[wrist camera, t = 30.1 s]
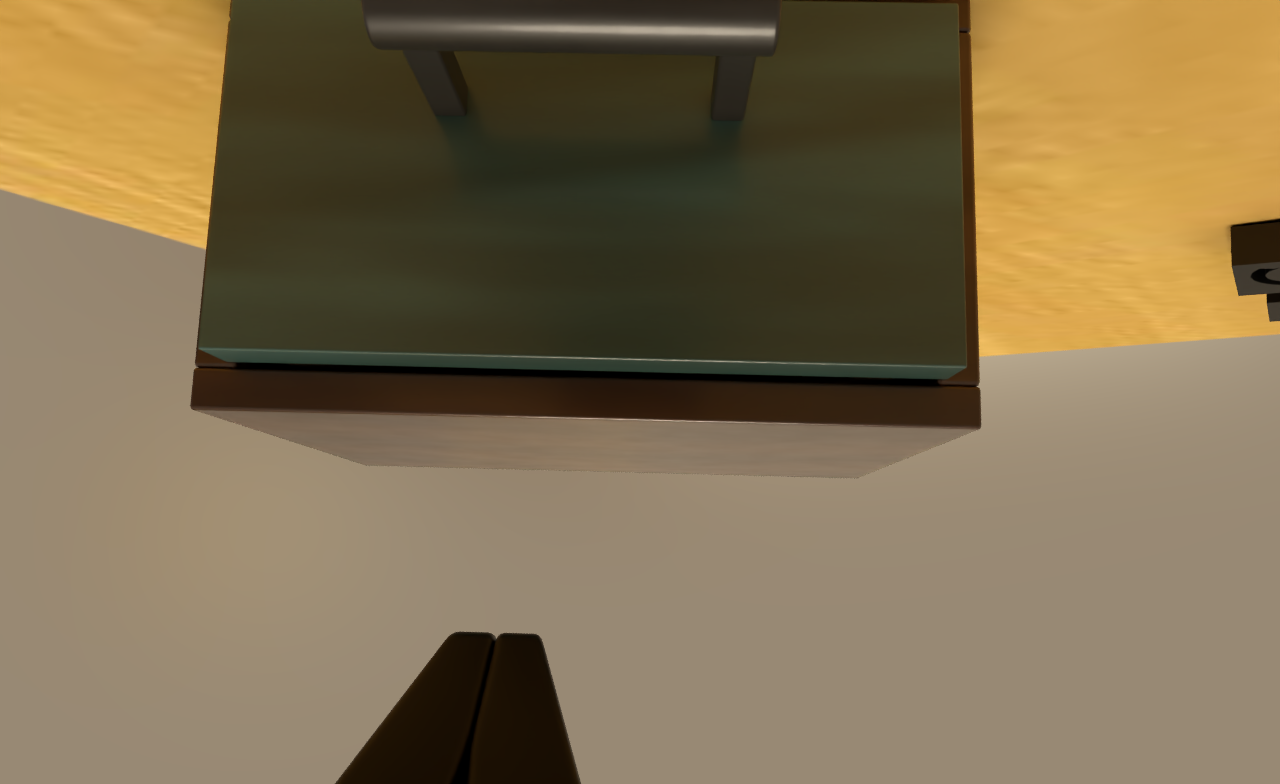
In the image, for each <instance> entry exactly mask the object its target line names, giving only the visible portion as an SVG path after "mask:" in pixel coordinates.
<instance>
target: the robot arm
mask: <svg viewBox="0 0 1280 784" xmlns="http://www.w3.org/2000/svg"><path fill="white" fill-rule="evenodd" d="M335 784H581V782H580V778H579V775H578V771H577V767H576V764H575V760H574V756H573V752H572V749H571V745H570V742H569V738H568V734H567V730H566V727H565V723H564V719H563V715H562V712H561V708H560V704H559V701H558V697H557V693H556V689H555V686H554V682H553V679H552V675H551V671H550V667H549V664H548V660H547V656H546V653H545V649H544V645H543V642H542V639H541V638H540V637H539V636H538V635H536V634H522V633H503V634H500V635H499V636H498V637H497V639H496V637H495V636H494V635H493V634H491V633H484V632H456V633H453V634H451V635H450V636H449V637H448V638H447V639H446V640H445V642H444V643H443V644H442V645H441V647H440V648H439V649H438V650H437V652H436V653H435V654H434V656H433V657H432V658H431V660H430V661H429V662H428V663H427V665H426V666H425V667H424V669H423V670H422V671H421V673H420V674H419V675H418V677H417V678H416V679H415V680H414V682H413V683H412V684H411V686H410V687H409V688H408V690H407V691H406V692H405V693H404V695H403V696H402V697H401V699H400V700H399V701H398V702H397V704H396V705H395V706H394V708H393V709H392V710H391V712H390V713H389V714H388V715H387V717H386V718H385V719H384V721H383V722H382V723H381V725H380V726H379V727H378V728H377V730H376V731H375V733H374V734H373V735H372V736H371V738H370V739H369V740H368V742H367V743H366V744H365V745H364V747H363V748H362V749H361V751H360V752H359V753H358V754H357V756H356V757H355V758H354V760H353V761H352V762H351V764H350V765H349V766H348V767H347V769H346V770H345V771H344V773H343V774H342V775H341V777H340V778H339V779H338V781H337V782H336V783H335Z"/></svg>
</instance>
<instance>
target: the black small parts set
mask: <svg viewBox="0 0 1280 784" xmlns="http://www.w3.org/2000/svg"><path fill="white" fill-rule="evenodd" d="M1231 254H1232V269H1233V273H1234V278H1235V282H1236V286H1237V291H1238V295H1239V296H1243V295H1256V294H1267V307H1268V314H1269V320H1270V322H1271V321H1280V222H1276V223H1266V224H1257V225H1247V226H1238V227H1231Z"/></svg>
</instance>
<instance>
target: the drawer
mask: <svg viewBox="0 0 1280 784" xmlns="http://www.w3.org/2000/svg"><path fill="white" fill-rule="evenodd" d="M198 348H199V349H200V350H202V351H204V352H206V353H208V354H211V355H213V356H215V357H217V358H219V359H221V360H224V361H226V362H252V363H289V364H290V366H292V367H294V368H296V369H298V370H316V371H357V372H397V373H438V374H479V375H520V376H561V377H602V378H643V379H683V380H724V381H765V382H806V383H847V384H888V383H889V382H890V381H892V380H893V378H909V379H949V378H950V377H952V376H954V375H955V374H957V373H958V372H960V371H962V370H963V369H965V368H966V367H967V342H966V300H965V258H964V216H963V174H962V132H961V89H960V47H959V6H958V4H957V3H909V2H851V1H792V0H232V8H231V18H230V28H229V38H228V48H227V59H226V69H225V79H224V89H223V99H222V109H221V120H220V130H219V140H218V150H217V160H216V170H215V181H214V191H213V201H212V211H211V221H210V231H209V242H208V252H207V262H206V272H205V282H204V292H203V302H202V313H201V323H200V333H199V343H198Z"/></svg>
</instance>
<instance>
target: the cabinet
mask: <svg viewBox="0 0 1280 784" xmlns="http://www.w3.org/2000/svg"><path fill="white" fill-rule="evenodd" d="M792 1H851V2H909V3H957V4H958V6H959V47H960V89H961V132H962V174H963V216H964V258H965V300H966V342H967V367H966V368H965V369H963V370H962V371H960V372H958V373H957V374H955V375H954V376H952V377H950V378H949V379H909V378H893V380H892V381H890V382H889V383H888V384H847V383H806V382H765V381H724V380H683V379H643V378H602V377H561V376H520V375H479V374H438V373H397V372H357V371H316V370H298V369H296V368H294V367H292V366H290V364H289V363H252V362H226V361H224V360H221V359H219V358H217V357H215V356H213V355H211V354H208V353H206V352H204V351H202V350H200V349H199V348H198V343H199V333H200V323H201V313H202V302H203V292H204V282H205V272H206V262H207V252H208V242H209V231H210V221H211V211H212V201H213V191H214V181H215V170H216V160H217V150H218V140H219V130H220V120H221V109H222V99H223V89H224V79H225V69H226V59H227V48H228V38H229V28H230V21H229V24H228V34H227V44H226V54H225V65H224V75H223V85H222V95H221V105H220V115H219V125H218V136H217V146H216V156H215V166H214V176H213V186H212V196H211V207H210V217H209V227H208V237H207V247H206V257H205V268H204V278H203V288H202V298H201V309H200V318H199V328H198V338H197V348H196V359H195V364H196V366H197V367H199V368H196V369H194V375H193V385H192V395H191V405H190V406H191V409H193V410H196V411H199V412H202V413H205V414H208V415H211V416H214V417H217V418H221V419H224V420H227V421H230V422H233V423H236V424H239V425H242V426H245V427H248V428H252V429H255V430H258V431H261V432H264V433H267V434H270V435H273V436H276V437H279V438H282V439H286V440H289V441H292V442H295V443H298V444H301V445H304V446H307V447H310V448H314V449H317V450H320V451H323V452H326V453H329V454H332V455H335V456H339V457H341V458H345V459H348V460H351V461H354V462H357V463H360V464H363V465H369V466H370V465H371V466H407V467H445V468H483V469H522V470H559V471H561V470H562V471H597V472H635V473H673V474H675V473H676V474H712V475H713V474H714V475H749V476H787V477H789V476H790V477H825V478H859V477H861V476H864V475H866V474H869V473H871V472H874V471H876V470H879V469H881V468H884V467H886V466H889V465H891V464H893V463H896V462H899V461H901V460H903V459H906V458H909V457H911V456H914V455H916V454H918V453H921V452H924V451H926V450H929V449H931V448H933V447H936V446H939V445H941V444H944V443H946V442H948V441H951V440H953V439H956V438H958V437H961V436H963V435H966V434H968V433H971V432H973V431H976V430H978V429H980V428H981V397H980V388H978V387H976V386H978V385H979V382H980V373H979V334H978V295H977V256H976V217H975V179H974V140H973V101H972V62H971V36H970V34H969V32H970V30H971V20H970V0H792ZM231 8H232V0H231V4H230V14H229V16H230V18H231Z"/></svg>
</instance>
